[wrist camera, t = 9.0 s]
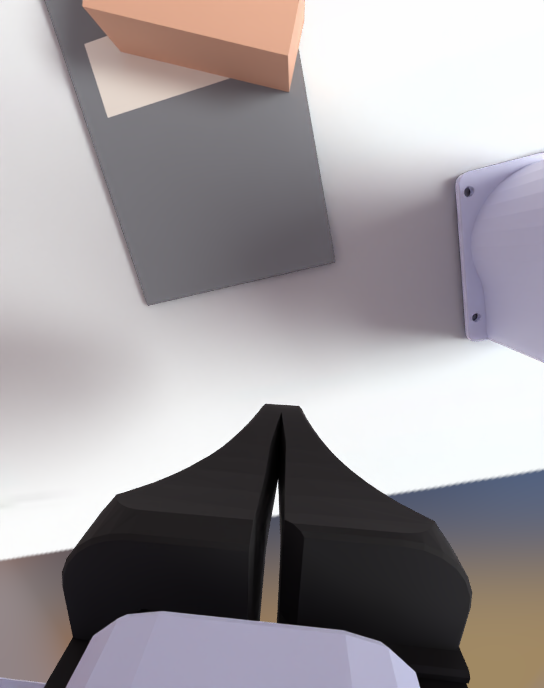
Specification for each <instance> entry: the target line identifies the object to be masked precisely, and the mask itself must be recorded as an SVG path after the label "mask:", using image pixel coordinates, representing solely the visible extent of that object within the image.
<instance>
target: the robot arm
mask: <svg viewBox="0 0 544 688" xmlns="http://www.w3.org/2000/svg"><path fill="white" fill-rule="evenodd" d="M455 186H456V201H457V215H458V230H459V244H460V258H461V273H462V287H463V302H464V316H465V330H466V336H467V338H468V339H470V340H472V341H482V340H487V339H489V340H492V341H494V342H496V343H499V344H501V345H503V346H506V347H508V348H510V349H513V350H515V351H517V352H520V353H522V354H525V355H527V356H529V357H532V358H534V359H536V360H539V361H541V362H543V363H544V152H542V153H538V154H534V155H530V156H526V157H522V158H518V159H514V160H511V161H507V162H503V163H499V164H495V165H491V166H487V167H483V168H479V169H475V170H472V171H468V172H465V173H463V174H461V175H460V176H459V177H458V178H457V180H456V185H455ZM466 188H468V189H470V195H469V196H468V197H466V196H465V194H464V190H465V189H466ZM476 313H477V315H478V316H477V318H476V320H472V316H473V315H474V314H476ZM277 482H278V489H279V515H280V573H279V592H278V613H277V623H270V622H261V621H260V611H261V599H262V588H263V576H264V564H265V554H266V545H267V538H268V532H269V527H270V521H271V516H272V510H273V505H274V499H275V493H276V488H277ZM62 581H63V591H64V596H65V600H66V605H67V610H68V615H69V620H70V624H71V629H72V634H73V638H72V640H71V642H70V643H69V645H68V647H67V649H66V650H65V652H64V654H63V655H62V657H61V659H60V661H59V662H58V664H57V666H56V668H55V669H54V671H53V673H52V674H51V676H50V678H49V679H48V681H47V683H41V682H33V681H25V680H16V679H9V678H1V677H0V688H468V687H467V684H466V683H469V680H470V674H469V670H468V667H467V665H466V662H465V660H464V658H463V656H462V653H461V651H460V648H459V644H460V641H461V638H462V634H463V631H464V628H465V624H466V621H467V618H468V614H469V611H470V608H471V598H472V590H471V586H470V583H469V579H468V576H467V575H466V573H465V571H464V569H463V567H462V566H461V563H460V562H459V560H458V558H457V556H456V554H455V553H454V551H453V549H452V547H451V546H450V544H449V543H448V541H447V540H446V538H445V536H444V535H443V533H442V532H441V531H440V529H439V527H438V526H437V524H436V523H435V521H433V520H431V519H429V518H427V517H425V516H423V515H421V514H419V513H417V512H415V511H413V510H412V509H410V508H408V507H406V506H404V505H402V504H400V503H398V502H396V501H395V500H393V499H392V498H390V497H388V496H387V495H385V494H383V493H382V492H380V491H379V490H377V489H376V488H374V487H373V486H371V485H370V484H368V483H367V482H366V481H364V480H363V479H362V478H360V477H359V476H358V475H356V474H355V473H354V472H353V471H351V470H350V469H349V468H348V467H347V466H345V465H344V464H343V463H342V462H341V461H340V460H339V459H338V458H337V457H336V456H335V455H334V454H333V453H332V452H331V451H330V450H329V449H328V447H327V446H326V445H325V444H324V443H323V441H322V440H321V439H320V438H319V436H318V435H317V433H316V432H315V431H314V429H313V428H312V426H311V425H310V423H309V422H308V420H307V418H306V417H305V415H304V413H303V411H302V409H301V408H300V407H299V406H291V405H275V404H265V405H264V406H263V407H262V408H261V409H260V411H259V412H258V413H257V414H256V415H255V417H254V418H253V419H252V420H251V421H250V422H249V423H248V424H247V425H246V426H245V427H244V428H243V429H242V430H241V431H240V432H239V433H238V434H237V435H236V436H235V437H234V438H232V439H231V440H230V441H229V442H228V443H227V444H225V445H224V446H223V447H221V448H220V449H219V450H217V451H216V452H214V453H213V454H211V455H210V456H208V457H206V458H204V459H203V460H201V461H199V462H197V463H195V464H194V465H192V466H190V467H188V468H186V469H184V470H182V471H180V472H178V473H176V474H174V475H171V476H169V477H166V478H164V479H162V480H159V481H157V482H154V483H151V484H148V485H145V486H142V487H139V488H136V489H133V490H130V491H127V492H124V493H121V494H117V495H116V496H115V497H114V498H113V499H112V501H111V502H110V503H109V504H108V505H107V506H106V508H105V509H104V510H103V511H102V512H101V513H100V515H99V516H98V517H97V519H96V520H95V521H94V523H93V524H92V525H91V527H90V528H89V529H88V531H87V532H86V533H85V535H84V536H83V537H82V539H81V540H80V541H79V543H78V544H77V545H76V547H75V548H74V549H73V551H72V552H71V554H70V555H69V556H68V558H67V559H66V562H65V565H64V568H63V571H62Z"/></svg>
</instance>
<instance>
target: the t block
mask: <svg viewBox="0 0 544 688" xmlns="http://www.w3.org/2000/svg"><path fill="white" fill-rule="evenodd" d="M82 6H83V8H84V9H85V10H86V11H87V12H88V14H89V15H90V16H91V17H92V18H93V19H94V21H95V22H96V23H97V24H98V25H99V27H100V28H101V29H102V30H103V31H104V32H105V34H106V35H107V36H108V37H109V38H110V40H111V41H112V42H113V43H114V44H115V45H116V47H117V48H118V49H119V50H120V51H121V52H124V53H128V54H132V55H137V56H141V57H145V58H149V59H153V60H157V61H162V62H166V63H170V64H174V65H178V66H182V67H186V68H191V69H195V70H199V71H203V72H207V73H211V74H215V75H220V76H224V77H228V78H232V79H236V80H240V81H244V82H249V83H253V84H257V85H261V86H265V87H269V88H273V89H278V90H282V91H286V92H289V91H290V86H291V81H292V76H293V72H294V67H295V62H296V57H297V52H298V48H299V43H300V38H301V33H302V28H303V24H304V9H305V0H83V4H82Z"/></svg>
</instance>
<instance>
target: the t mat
mask: <svg viewBox="0 0 544 688" xmlns="http://www.w3.org/2000/svg"><path fill="white" fill-rule="evenodd" d="M45 3H46V6H47V9H48V12H49V15H50V18H51V20H52V23H53V26H54V29H55V32H56V35H57V38H58V41H59V44H60V47H61V50H62V53H63V56H64V59H65V62H66V65H67V68H68V71H69V74H70V77H71V80H72V83H73V86H74V89H75V92H76V95H77V98H78V101H79V103H80V106H81V109H82V112H83V115H84V118H85V121H86V124H87V127H88V130H89V133H90V136H91V139H92V142H93V145H94V148H95V151H96V154H97V157H98V160H99V163H100V166H101V169H102V172H103V175H104V178H105V181H106V183H107V186H108V189H109V192H110V195H111V198H112V201H113V204H114V207H115V210H116V213H117V216H118V219H119V222H120V225H121V228H122V231H123V234H124V237H125V240H126V243H127V246H128V249H129V252H130V255H131V258H132V261H133V264H134V266H135V269H136V272H137V275H138V278H139V281H140V284H141V287H142V290H143V293H144V296H145V299H146V302H147V305H148V306H149V305H153V304H157V303H161V302H166V301H170V300H174V299H179V298H183V297H187V296H191V295H196V294H200V293H204V292H209V291H213V290H217V289H221V288H226V287H230V286H234V285H239V284H243V283H247V282H251V281H256V280H260V279H264V278H269V277H273V276H277V275H281V274H286V273H290V272H294V271H299V270H303V269H307V268H311V267H316V266H320V265H324V264H328V263H333V262H335V258H334V252H333V246H332V240H331V234H330V228H329V223H328V217H327V211H326V205H325V199H324V194H323V188H322V182H321V176H320V170H319V164H318V159H317V153H316V147H315V141H314V135H313V130H312V124H311V118H310V112H309V106H308V101H307V95H306V89H305V83H304V77H303V71H302V66H301V60H300V54H299V48H298V52H297V57H296V62H295V67H294V72H293V76H292V81H291V86H290V91H289V92H286V91H282V90H278V89H273V88H269V87H265V86H261V85H257V84H253V83H249V82H244V81H240V80H236V79H232V78H228V77H224V76H220V75H215V74H211V73H207V72H203V71H199V70H195V69H191V68H186V67H182V66H178V65H174V64H170V63H166V62H162V61H157V60H153V59H149V58H145V57H141V56H137V55H132V54H128V53H124V52H121V51H120V50H119V49H118V48H117V47H116V45H115V44H114V43H113V42H112V41H111V40H110V38H109V37H108V36H107V35H106V34H105V32H104V31H103V30H102V29H101V28H100V27H99V25H98V24H97V23H96V22H95V21H94V19H93V18H92V17H91V16H90V15H89V14H88V12H87V11H86V10H85V9H84V8H83V6H82V4H83V0H45Z"/></svg>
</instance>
